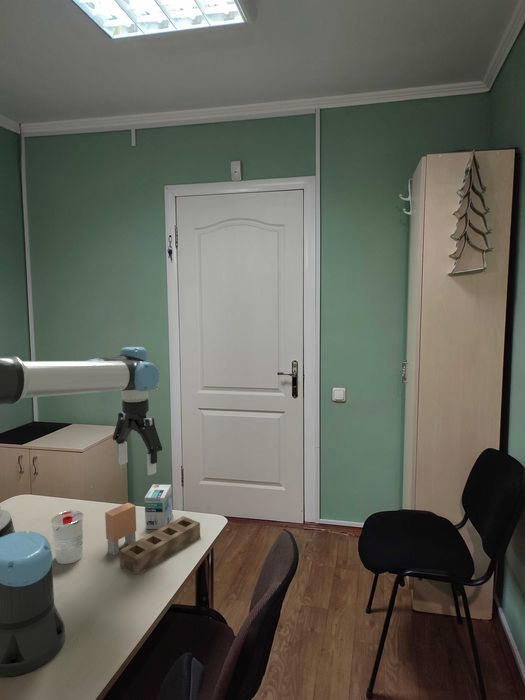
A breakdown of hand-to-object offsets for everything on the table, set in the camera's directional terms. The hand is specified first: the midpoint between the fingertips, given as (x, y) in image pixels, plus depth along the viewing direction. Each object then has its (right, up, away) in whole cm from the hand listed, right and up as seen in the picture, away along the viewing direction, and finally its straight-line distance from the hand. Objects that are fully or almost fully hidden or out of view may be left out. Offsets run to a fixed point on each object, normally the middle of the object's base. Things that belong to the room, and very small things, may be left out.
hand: (137, 468), depth 134 cm
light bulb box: (+3, -22, +14) cm, 26 cm away
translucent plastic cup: (-18, -24, -6) cm, 30 cm away
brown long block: (+8, -23, -3) cm, 25 cm away
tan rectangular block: (-4, -23, -1) cm, 24 cm away
